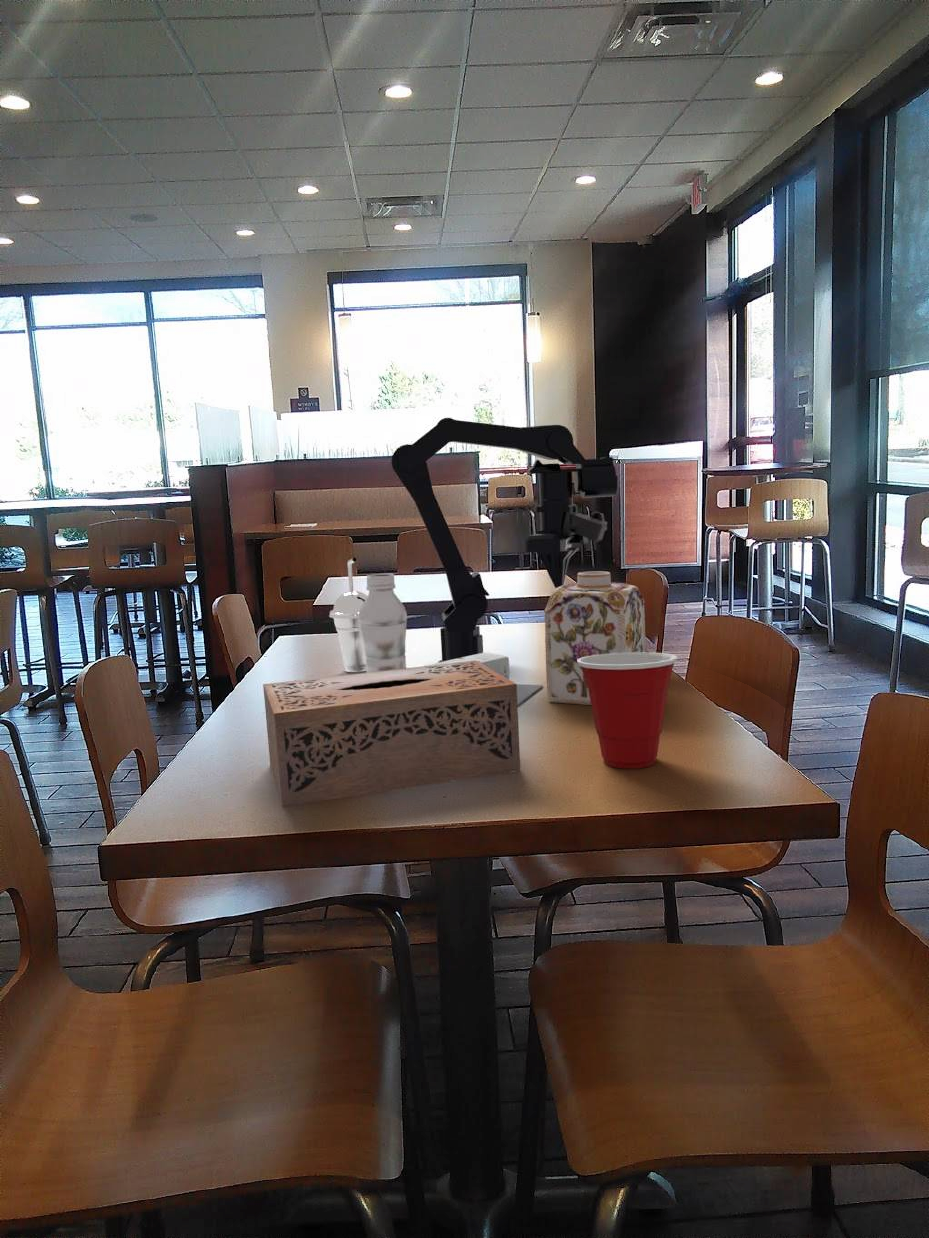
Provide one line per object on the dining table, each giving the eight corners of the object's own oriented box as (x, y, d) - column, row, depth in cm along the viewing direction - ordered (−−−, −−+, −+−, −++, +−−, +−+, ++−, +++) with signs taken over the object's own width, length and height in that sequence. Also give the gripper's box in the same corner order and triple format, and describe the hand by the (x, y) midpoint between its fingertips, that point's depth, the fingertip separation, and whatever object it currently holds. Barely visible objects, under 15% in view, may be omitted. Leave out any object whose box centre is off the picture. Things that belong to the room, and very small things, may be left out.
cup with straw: (387, 664, 159) (380, 552, 155) (373, 675, 150) (365, 557, 147) (342, 664, 160) (333, 554, 157) (325, 676, 151) (316, 559, 148)
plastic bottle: (421, 717, 121) (413, 571, 118) (402, 731, 115) (392, 578, 112) (378, 715, 123) (369, 572, 120) (357, 729, 117) (346, 578, 114)
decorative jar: (545, 703, 126) (540, 576, 123) (571, 684, 136) (567, 567, 133) (628, 708, 120) (624, 576, 118) (649, 688, 131) (646, 567, 128)
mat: (433, 706, 127) (433, 704, 127) (470, 683, 140) (470, 682, 140) (512, 710, 122) (512, 708, 122) (543, 687, 135) (543, 685, 135)
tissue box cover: (480, 738, 111) (476, 660, 109) (520, 773, 97) (516, 684, 96) (270, 767, 104) (263, 684, 102) (282, 809, 90) (273, 713, 88)
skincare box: (509, 655, 137) (448, 667, 129) (510, 683, 138) (449, 697, 130) (483, 651, 142) (422, 663, 134) (484, 679, 142) (424, 692, 135)
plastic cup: (661, 742, 104) (660, 642, 103) (692, 772, 94) (691, 660, 92) (570, 749, 104) (567, 648, 102) (591, 780, 93) (588, 668, 91)
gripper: (587, 499, 142) (590, 596, 145) (614, 495, 159) (616, 582, 161) (521, 502, 146) (525, 596, 149) (554, 498, 163) (557, 582, 166)
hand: (559, 588), depth 156 cm, fingers closed
